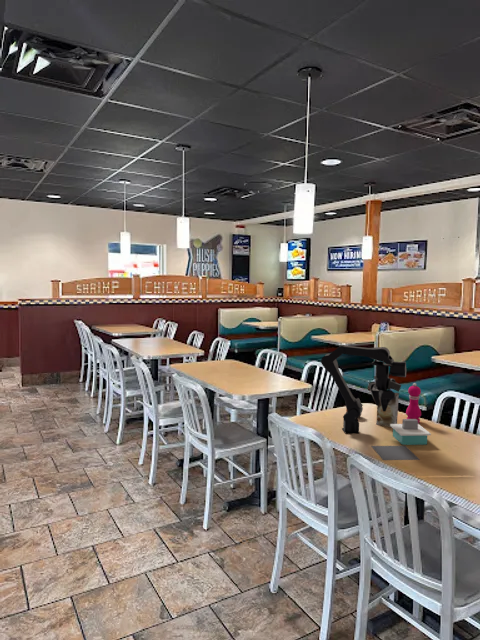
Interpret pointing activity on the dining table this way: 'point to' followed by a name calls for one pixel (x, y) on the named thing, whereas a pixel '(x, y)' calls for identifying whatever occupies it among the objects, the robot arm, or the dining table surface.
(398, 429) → the lid
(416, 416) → the pepper mill
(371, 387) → the robot arm
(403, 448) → the mat
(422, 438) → the dish
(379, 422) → the coffee box
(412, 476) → the dining table surface
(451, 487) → the dining table surface
